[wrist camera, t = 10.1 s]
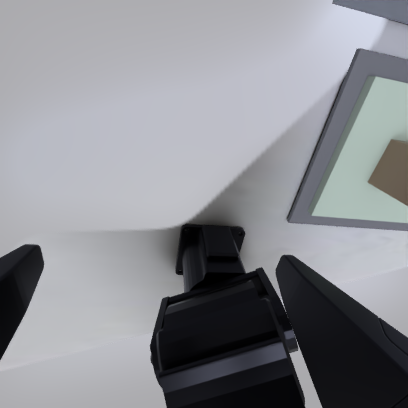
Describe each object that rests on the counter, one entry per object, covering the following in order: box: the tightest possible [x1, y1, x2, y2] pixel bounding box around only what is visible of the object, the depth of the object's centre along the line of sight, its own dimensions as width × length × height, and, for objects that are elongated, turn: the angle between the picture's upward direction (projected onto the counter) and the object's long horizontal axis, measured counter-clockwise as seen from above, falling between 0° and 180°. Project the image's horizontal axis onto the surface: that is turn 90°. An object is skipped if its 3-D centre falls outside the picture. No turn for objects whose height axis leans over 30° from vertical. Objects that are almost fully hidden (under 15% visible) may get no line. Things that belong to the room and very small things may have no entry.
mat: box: [287, 49, 408, 231], centre depth 22 cm, size 15×15×1 cm
